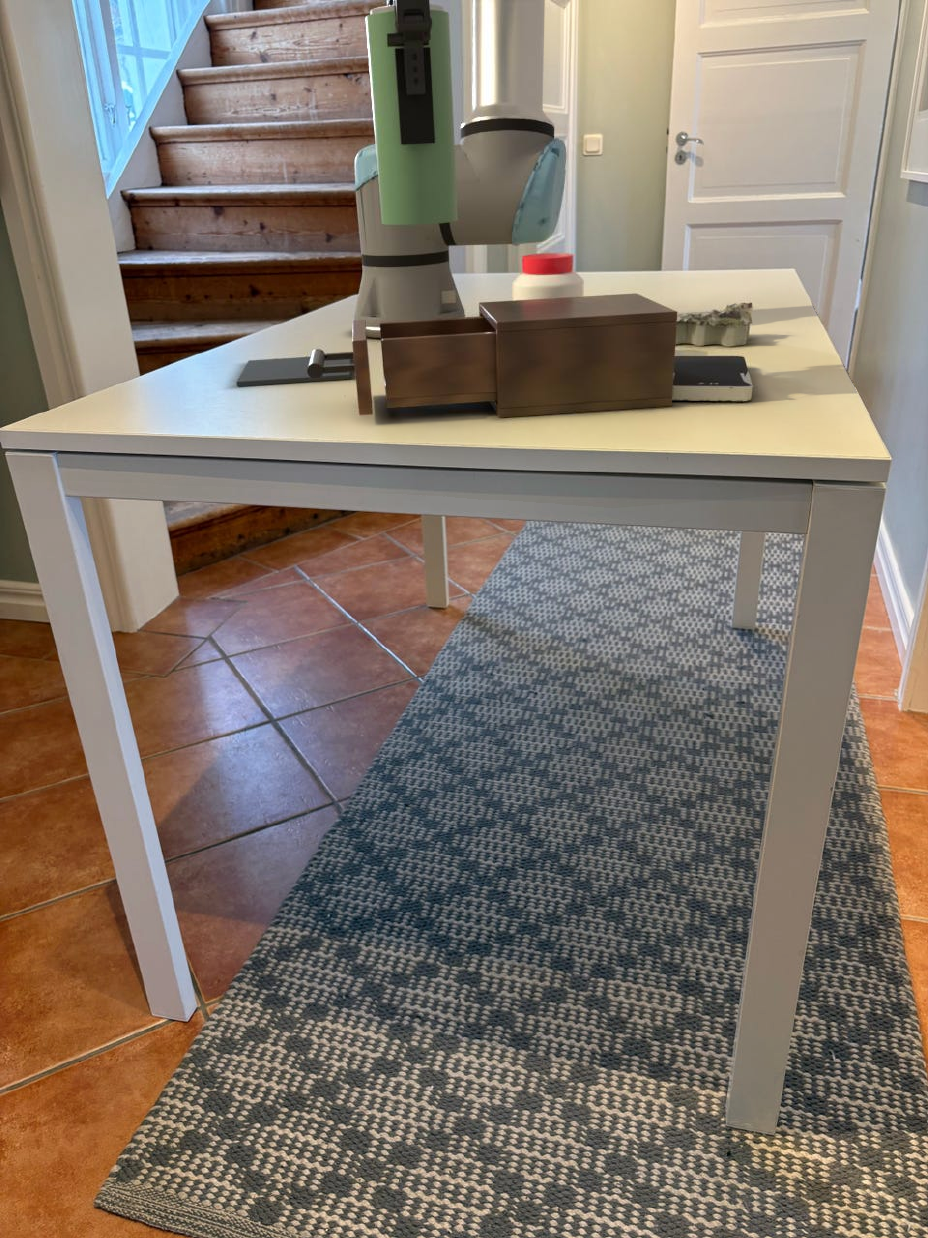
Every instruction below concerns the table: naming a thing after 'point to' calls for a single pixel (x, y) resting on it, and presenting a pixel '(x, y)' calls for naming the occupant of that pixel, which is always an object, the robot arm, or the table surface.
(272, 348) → the table surface
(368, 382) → the drawer
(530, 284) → the pill bottle
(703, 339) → the egg carton
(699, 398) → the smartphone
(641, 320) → the cabinet
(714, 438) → the table surface
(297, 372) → the mat
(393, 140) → the can
